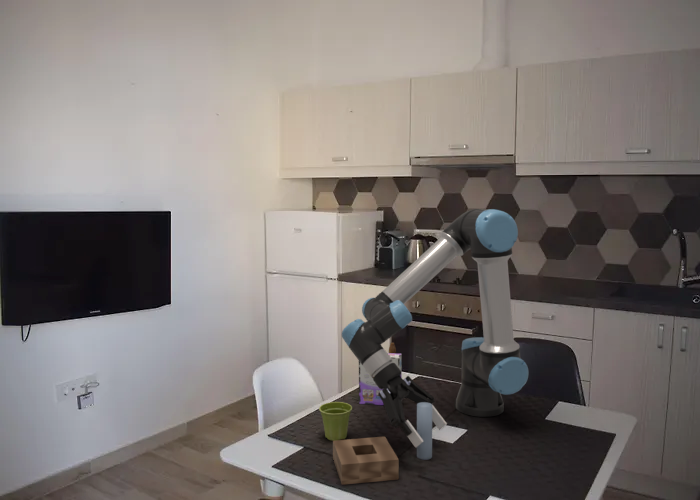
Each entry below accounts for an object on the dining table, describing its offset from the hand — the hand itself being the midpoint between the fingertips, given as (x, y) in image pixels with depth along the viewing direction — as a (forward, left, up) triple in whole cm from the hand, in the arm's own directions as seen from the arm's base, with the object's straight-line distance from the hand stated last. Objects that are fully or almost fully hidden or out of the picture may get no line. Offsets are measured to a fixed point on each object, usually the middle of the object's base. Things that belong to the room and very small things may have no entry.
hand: (432, 435), depth 154 cm
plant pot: (+23, -19, -6) cm, 30 cm away
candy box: (+4, -44, -6) cm, 44 cm away
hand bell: (-4, -60, -6) cm, 60 cm away
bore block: (+19, +2, -6) cm, 20 cm away
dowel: (+2, -2, -6) cm, 7 cm away
